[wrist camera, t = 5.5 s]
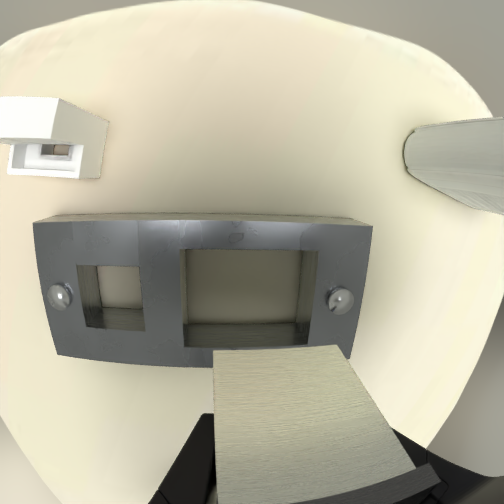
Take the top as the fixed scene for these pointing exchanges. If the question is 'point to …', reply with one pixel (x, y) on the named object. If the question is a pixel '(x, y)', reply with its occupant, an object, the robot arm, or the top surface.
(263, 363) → the drawer with knob
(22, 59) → the top surface
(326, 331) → the metal cover plate
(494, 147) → the photo printer
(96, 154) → the white angled block
